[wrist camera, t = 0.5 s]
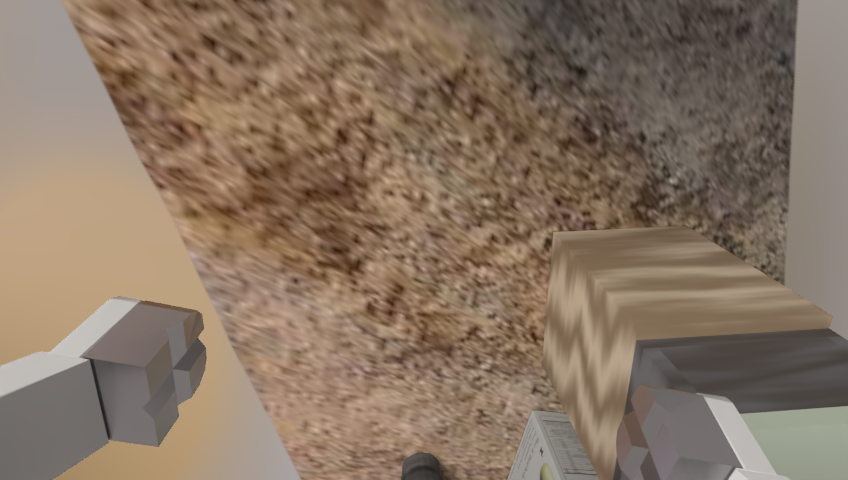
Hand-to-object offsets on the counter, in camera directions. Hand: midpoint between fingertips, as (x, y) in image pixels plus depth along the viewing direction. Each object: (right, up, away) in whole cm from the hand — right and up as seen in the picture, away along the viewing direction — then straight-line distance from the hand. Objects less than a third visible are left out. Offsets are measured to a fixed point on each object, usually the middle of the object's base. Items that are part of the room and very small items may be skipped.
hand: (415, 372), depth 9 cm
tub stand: (+20, -4, +45) cm, 49 cm away
